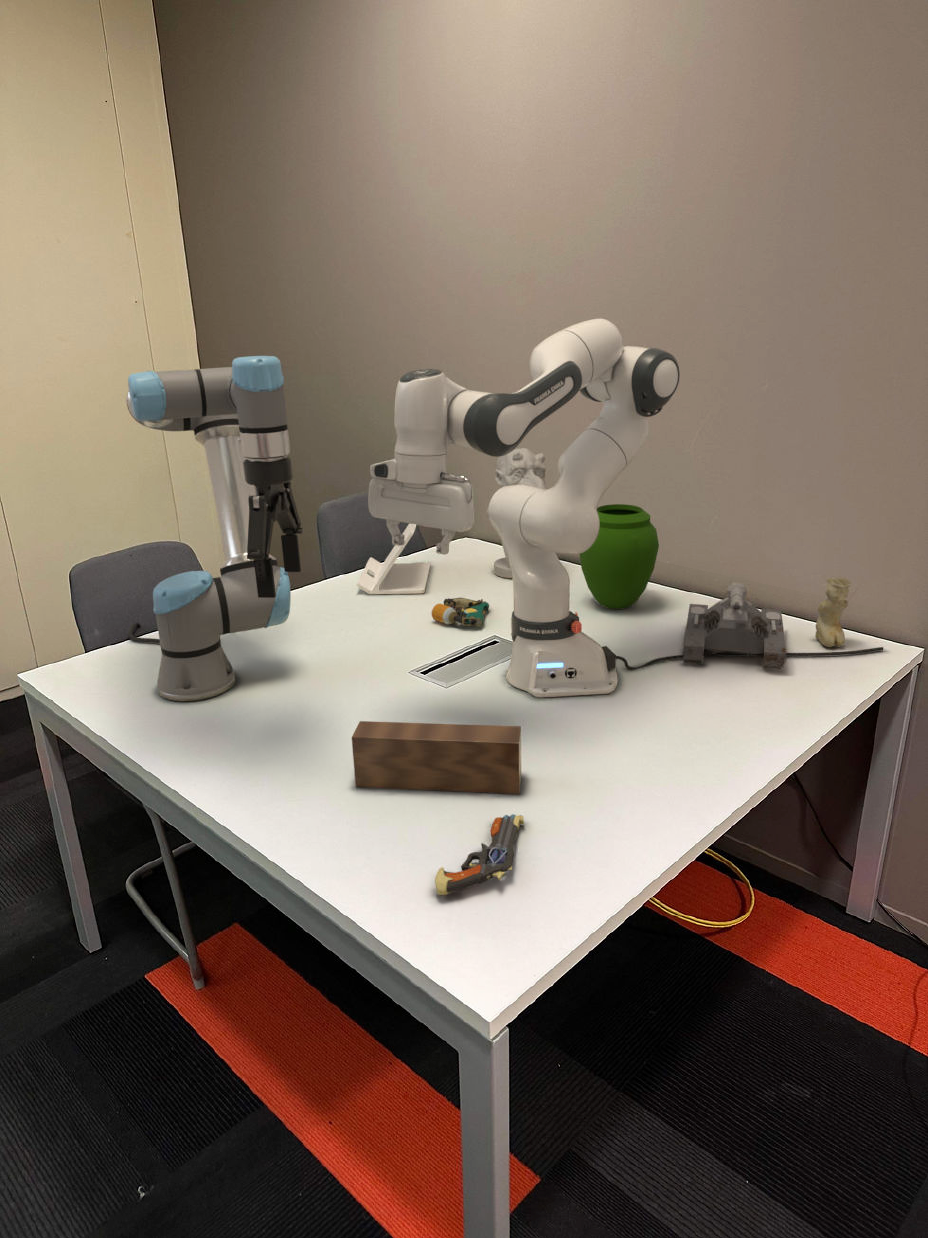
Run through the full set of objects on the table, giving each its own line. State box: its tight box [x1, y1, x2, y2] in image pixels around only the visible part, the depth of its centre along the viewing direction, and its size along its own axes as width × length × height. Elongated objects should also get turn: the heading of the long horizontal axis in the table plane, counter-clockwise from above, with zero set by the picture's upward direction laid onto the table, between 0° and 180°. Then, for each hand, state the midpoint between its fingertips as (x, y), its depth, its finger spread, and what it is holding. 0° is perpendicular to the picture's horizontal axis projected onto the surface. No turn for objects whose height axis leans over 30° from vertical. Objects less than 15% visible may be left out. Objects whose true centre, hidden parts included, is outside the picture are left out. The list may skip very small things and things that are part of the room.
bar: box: [351, 720, 522, 795], centre depth 137 cm, size 26×6×9 cm, turn 83°
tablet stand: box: [356, 523, 431, 595], centre depth 236 cm, size 18×25×17 cm
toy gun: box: [434, 813, 525, 896], centre depth 119 cm, size 3×19×10 cm
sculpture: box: [814, 576, 852, 648], centre depth 185 cm, size 6×7×15 cm
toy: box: [682, 581, 787, 670], centre depth 184 cm, size 25×20×15 cm
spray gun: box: [430, 597, 490, 627], centre depth 208 cm, size 4×17×15 cm
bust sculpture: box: [485, 447, 547, 579], centre depth 231 cm, size 16×24×35 cm
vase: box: [579, 503, 660, 610], centre depth 210 cm, size 20×20×24 cm
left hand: (280, 583), depth 144 cm, fingers open, 13 cm apart
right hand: (420, 549), depth 149 cm, fingers open, 8 cm apart
